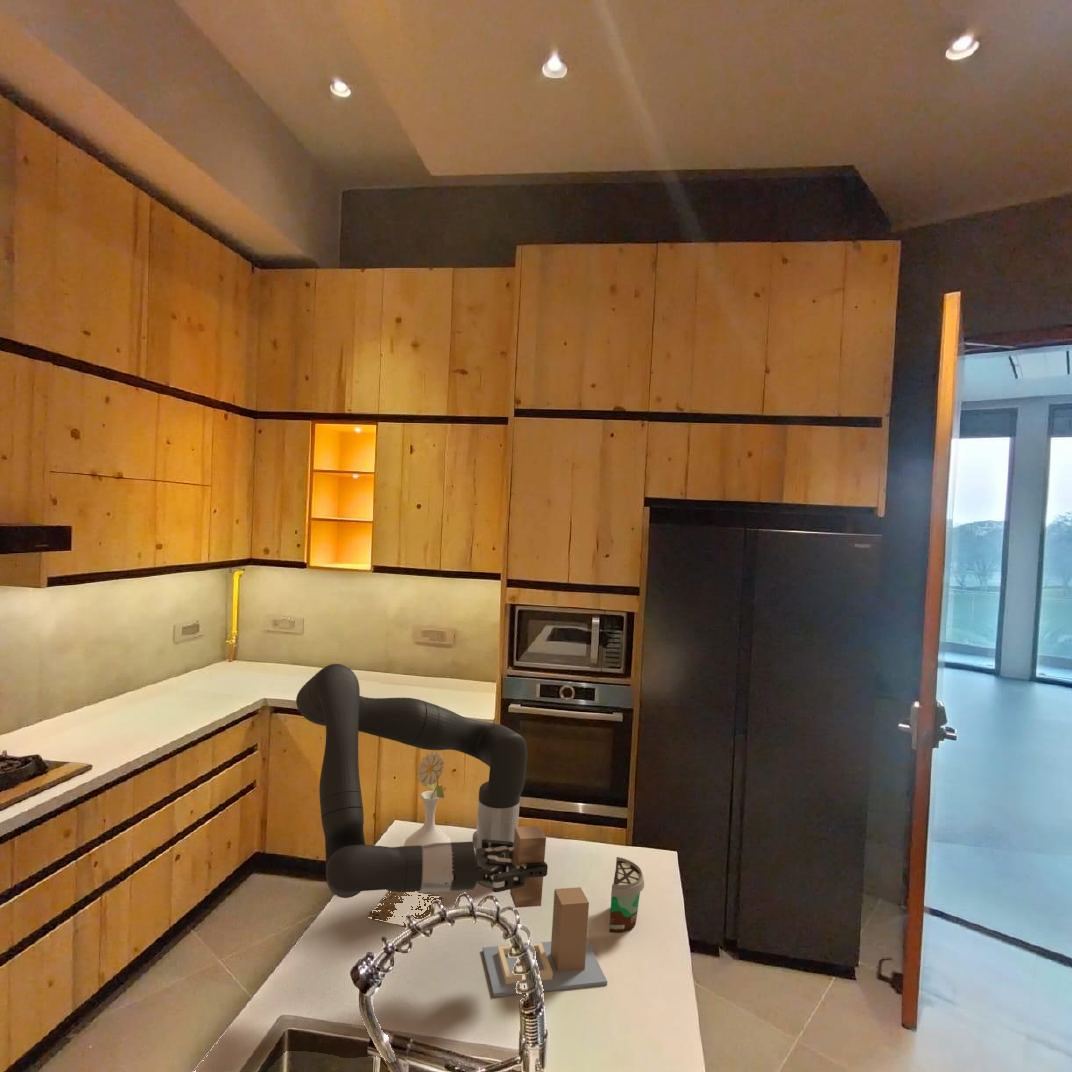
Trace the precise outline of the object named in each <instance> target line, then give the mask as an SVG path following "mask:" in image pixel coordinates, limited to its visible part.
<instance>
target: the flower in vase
mask: <svg viewBox="0 0 1072 1072" xmlns="http://www.w3.org/2000/svg"><path fill="white" fill-rule="evenodd" d="M445 762H446V761H445V760H444V758H443V756H442V755H441V754H440V753H439V751H436V752H435V753H434V751H432V752H430V753H429V752H428V753H427V754H426V755H425V756H424V757H422V759H421V761H420V763H419V766H418V767H419V768H417V770H416V771H417V773H418V774H417V779H418V780H417V781H418V783H421V787H422V786H423V787H427V788H429V789H430V790H426V791H423V792H421V793H420V797H421V799H422V801H423V803H424V813H425V815H424V822H423V825H422V826H421V827H420V828H419V829H417V830H416V831H414V832H413V833H411V834H410V835H408V836H409V837H407V838H406V840H405V841H404V844H403V846H417V845H421V846H422V845H428V844H433V843H450V842H452V840H451V838H450V837H449V836H448V835H447V834H446V833H445V832H443V830H441V829H440V828H438V827H437V826H436V823H435V816H436V807H437V804H438V802H439V800H440V799H445V795H444V786H443V785H439V779H440V777H441V776H442V775H443V773H444V770H443V769H444V768H445V766H444V765H445ZM435 784H436V787H435Z"/></svg>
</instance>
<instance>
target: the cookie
mask: <svg viewBox="0 0 1072 1072" xmlns="http://www.w3.org/2000/svg"><path fill="white" fill-rule="evenodd" d="M387 892H388V891H387ZM387 892H386V893H385V894H384V896H386V897H387V898H386V897H384V896H383V897H384V898H385V899H384V898H383V897H382V898H381V899H380V901H379V902H378V903H381V904H382V906H381V905H379V906H377V905H376V906H377V907H378V908H376V909H374V908H372V910H377V911H378V910H381V911H380V912H379V911H378V912H376V911H373V913H372V910H371V911H369V913H370V914H369V913H368V914H369V915H368V914H367V916H366V917H372V919H379V920H383V921H387V920H388V918H387V917H392V916H393V914H391V913H390V912H391V911H392V912H393V911H394V910H397V909H396V908H395V905H394V903H395V904H396V903H403V901H402V900H404V899H402V897H401V896H407V895H408V896H410V895H409V894H407V893H406V892H391V893H390V891H389V892H388V893H387ZM404 893H405V894H406V895H405V894H404ZM388 894H389V895H388ZM395 896H396V897H395ZM398 896H399V897H400V899H398V898H399V897H398ZM411 896H412V895H411ZM418 896H421V895H418ZM428 896H429V897H430V896H440V895H439V894H432V895H428ZM429 897H427V899H423V898H424V897H423V898H422V899H423V900H424V901H425V900H427V902H429V901H428V900H431V898H434V897H431V898H430V899H429ZM383 899H384V900H383ZM418 899H419V898H418ZM436 899H439V900H441V903H442V901H443V900H444V899H445V897H443V896H441V897H439V898H434V899H433V900H436ZM442 899H443V900H442ZM400 900H401V901H400ZM433 900H432V901H433ZM432 901H431V903H432ZM383 903H384V905H383ZM390 903H391V904H390ZM419 903H420V901H419ZM424 903H425V902H424ZM419 905H420V904H419ZM424 906H426V903H425V904H424ZM411 907H412V906H411ZM417 907H418V906H417ZM428 907H429V910H428ZM428 907H427V910H426V911H425V912H424V913H423V914H421V915H419V913H418V915H416V913H415V916H416V917H414V916H413V915H411V916H413V917H414V918H415V919H422V918H424V917H426V916H428V915H429V914H430V912H431V905H429V906H428ZM412 908H413V907H412ZM419 908H421V906H419V907H418V908H416V909H415V910H417V909H418V910H421V911H422V910H423V909H419ZM388 910H390V911H388ZM411 910H413V909H411ZM393 913H394V912H393ZM424 914H425V915H424ZM421 916H422V917H421ZM394 917H395V916H394ZM402 917H403V916H402ZM406 917H407V916H406ZM417 917H418V918H417ZM386 919H387V920H386ZM389 919H390V918H389ZM403 923H404V922H403ZM402 927H404V928H407V927H406V924H405V923H404V926H402Z"/></svg>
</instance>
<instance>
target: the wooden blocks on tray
mask: <svg viewBox="0 0 1072 1072" xmlns="http://www.w3.org/2000/svg"><path fill="white" fill-rule="evenodd" d="M553 890H554V891H553V892H554V893H553V909H552V911H553V912H552V921H551V922H552V923H551V937H550V938H551V941H540V942H531V943H532V944H533V946H534V948H535V951H536V960H537V963H538V967H539V971H540V977H541V981H542V985H543V989H544V992H551V991H552V992H554V991H562V990H571V989H579V988H581V989H582V988H589V987H598V986H606V985H608V980H607V978H606V976H605V973H604V972H603V970H602V968H601V965H600V963H599V961H598V959H597V957H596V955H595V953H594V952H593V949H592V948H591V947H592V946H591V945H590V942H589V941H588V939H587V938H588V922H589V908H590V902H589V900H588V898H587V896H586V895H585V893H584V891H583V889H582V887H580V886H579V887H578V886H577V887H565V888H554V889H553ZM510 945H511V944H508V945H497V946H496V945H495V946H485V947H482V953H483V957H484V962H485V967H486V971H487V974H488V978H489V982H490V983H489V984H490V988H491V991H492V996H493V998H496V997H504V996H505V997H506V996H516V995H518V994H517V993H516V989H515V988H516V983H517V981H521V980H522V975H514V974H513V973H512V971H513V967H514V964H515V963H516V961H517V958H509V957H508V952H509V948H510ZM524 988H525V985H524ZM523 994H524V993H523ZM523 994H522V995H523Z"/></svg>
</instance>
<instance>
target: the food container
mask: <svg viewBox="0 0 1072 1072" xmlns="http://www.w3.org/2000/svg"><path fill="white" fill-rule="evenodd" d="M614 872H615V873H614V877H613V883H612V884H611V892H610V893H611V894H610V897H611V899H610V911H609V912H610V915H609V930H608V931H609V933H613V934H622V933H623V934H624V933H627V932H630V931H631V930H633V929H634V928H635V926H636V924H637V919H638V918H637V917H638V912H639V910H638V909H639V902H640V896H641V892H642V891H643V890H644V888H645V880H644V874H643V872H642V870H641V868H640V867H639V865H637V864H636V863H635V862H633V861H631V860H629V859H628V858H627V859H626V858H623V857H619V856H616V862H615V871H614Z"/></svg>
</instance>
